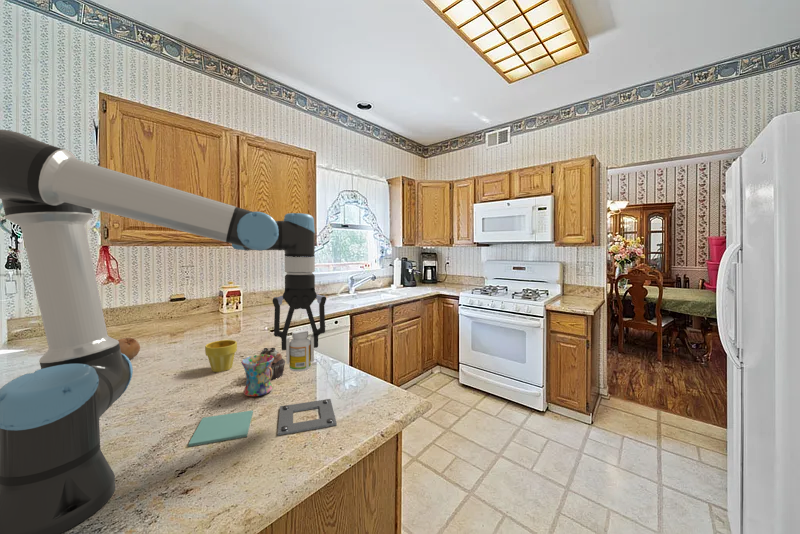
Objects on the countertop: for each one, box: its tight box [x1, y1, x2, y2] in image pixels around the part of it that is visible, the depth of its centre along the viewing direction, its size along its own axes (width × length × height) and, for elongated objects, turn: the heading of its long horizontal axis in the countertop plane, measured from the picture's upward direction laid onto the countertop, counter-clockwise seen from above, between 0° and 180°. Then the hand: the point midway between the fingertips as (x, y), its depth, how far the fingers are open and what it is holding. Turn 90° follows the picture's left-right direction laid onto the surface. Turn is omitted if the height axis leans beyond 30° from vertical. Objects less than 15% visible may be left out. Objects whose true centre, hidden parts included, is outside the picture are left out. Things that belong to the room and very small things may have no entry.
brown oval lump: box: [117, 337, 141, 360], centre depth 129 cm, size 10×9×10 cm
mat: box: [188, 409, 254, 447], centre depth 79 cm, size 12×12×1 cm
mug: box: [240, 354, 274, 397], centre depth 98 cm, size 12×9×11 cm
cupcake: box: [259, 347, 286, 381], centre depth 111 cm, size 10×10×10 cm
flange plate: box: [277, 398, 337, 437], centre depth 84 cm, size 14×14×1 cm
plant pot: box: [204, 339, 238, 373], centre depth 118 cm, size 10×10×10 cm
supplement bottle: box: [289, 329, 312, 372], centre depth 83 cm, size 5×5×10 cm
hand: (300, 360), depth 83 cm, fingers closed on supplement bottle, 5 cm apart
